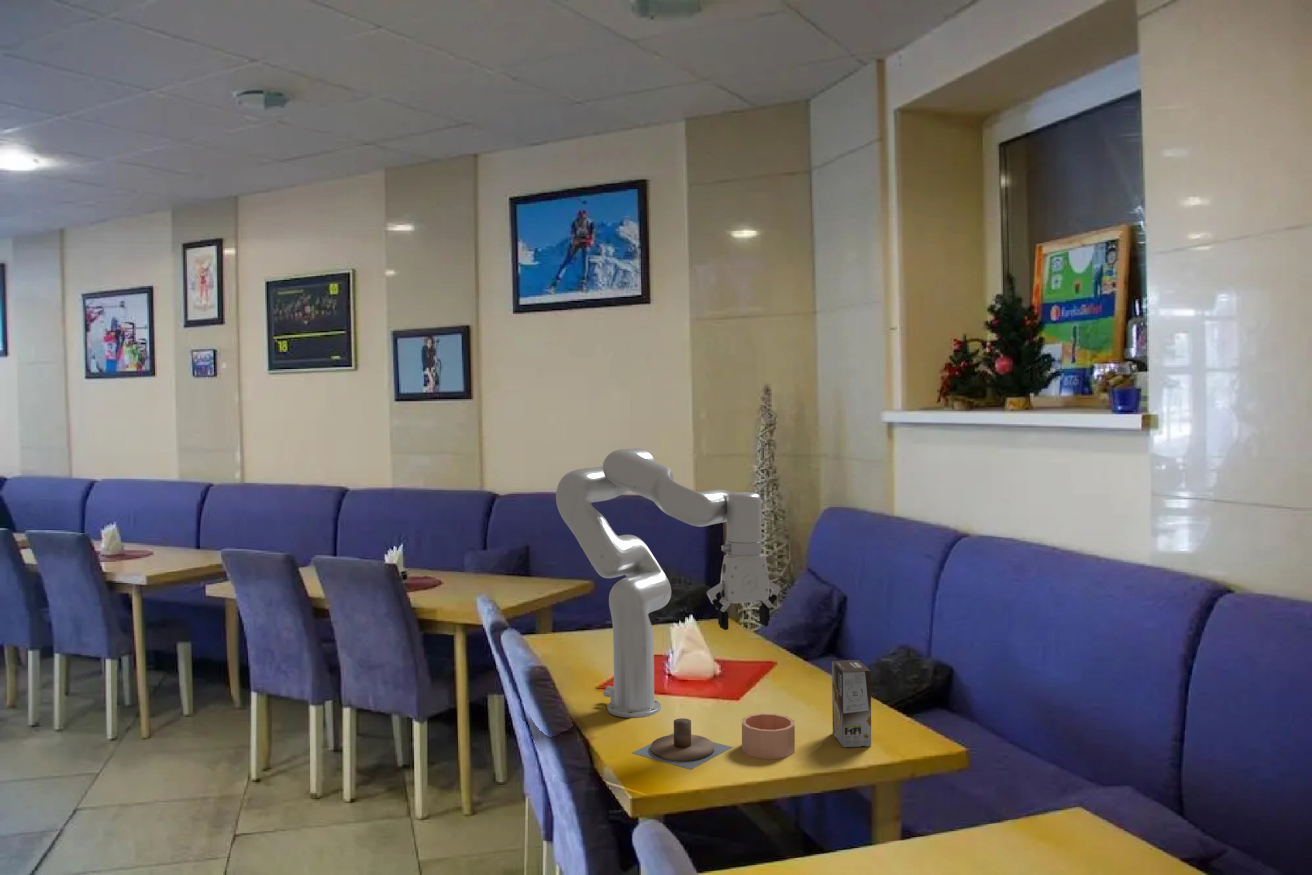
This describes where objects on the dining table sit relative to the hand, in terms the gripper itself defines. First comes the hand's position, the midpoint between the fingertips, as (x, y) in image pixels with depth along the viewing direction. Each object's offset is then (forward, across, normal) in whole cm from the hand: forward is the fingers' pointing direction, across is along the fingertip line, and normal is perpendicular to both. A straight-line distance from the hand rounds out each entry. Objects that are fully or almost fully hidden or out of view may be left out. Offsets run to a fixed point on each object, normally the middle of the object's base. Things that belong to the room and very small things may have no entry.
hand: (744, 626), depth 206 cm
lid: (+23, -17, -6) cm, 29 cm away
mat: (+23, -17, -6) cm, 30 cm away
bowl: (+23, 0, -12) cm, 26 cm away
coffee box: (+23, +19, -13) cm, 33 cm away
